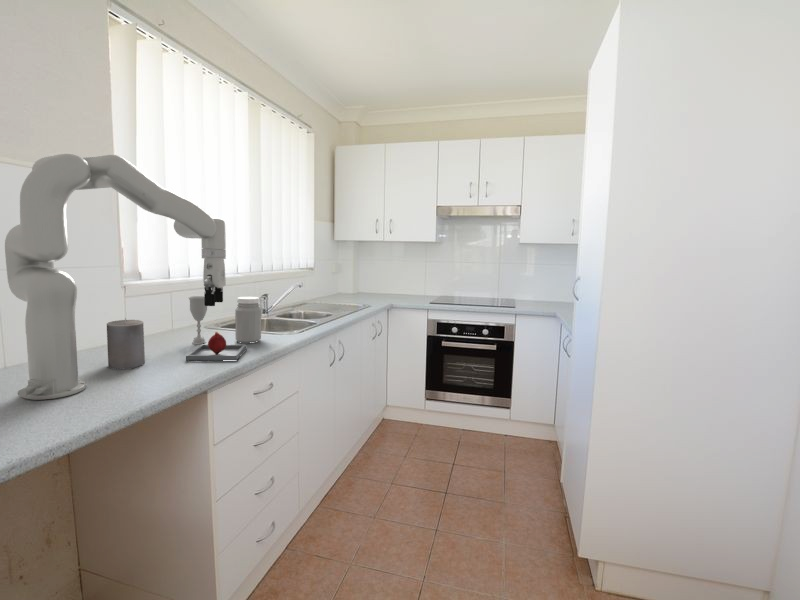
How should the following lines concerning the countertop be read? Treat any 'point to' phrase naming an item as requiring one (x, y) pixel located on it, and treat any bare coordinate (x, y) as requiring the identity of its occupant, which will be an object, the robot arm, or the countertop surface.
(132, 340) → the pillar candle
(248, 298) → the jar
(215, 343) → the onion
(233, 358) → the tray
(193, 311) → the chalice
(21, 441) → the countertop surface
